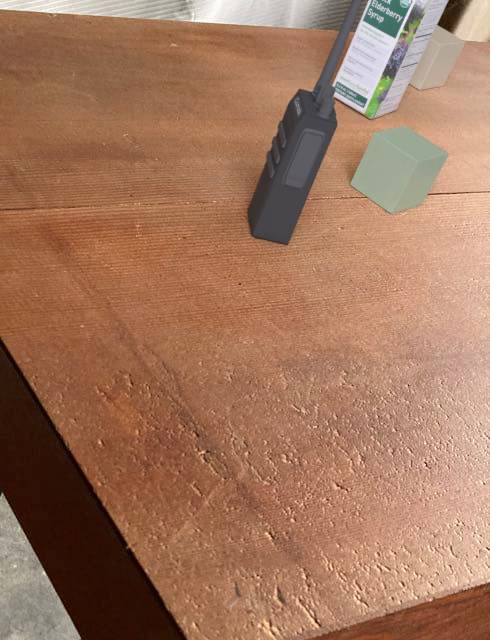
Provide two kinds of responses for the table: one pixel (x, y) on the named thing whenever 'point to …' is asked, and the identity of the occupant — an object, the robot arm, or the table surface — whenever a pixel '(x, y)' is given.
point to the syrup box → (385, 53)
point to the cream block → (437, 60)
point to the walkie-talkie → (298, 150)
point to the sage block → (398, 169)
